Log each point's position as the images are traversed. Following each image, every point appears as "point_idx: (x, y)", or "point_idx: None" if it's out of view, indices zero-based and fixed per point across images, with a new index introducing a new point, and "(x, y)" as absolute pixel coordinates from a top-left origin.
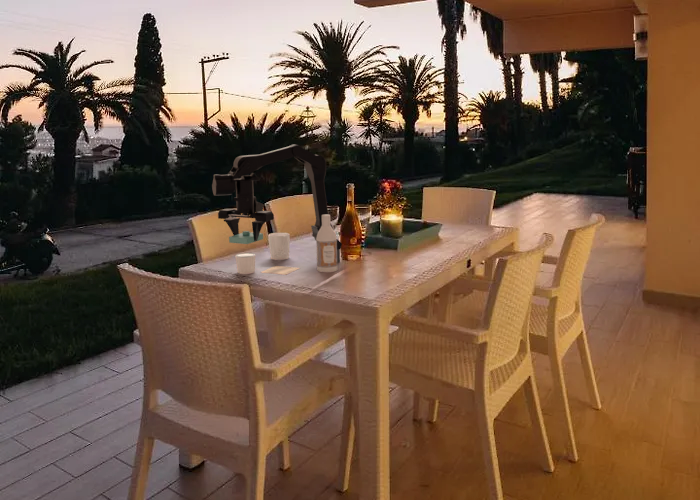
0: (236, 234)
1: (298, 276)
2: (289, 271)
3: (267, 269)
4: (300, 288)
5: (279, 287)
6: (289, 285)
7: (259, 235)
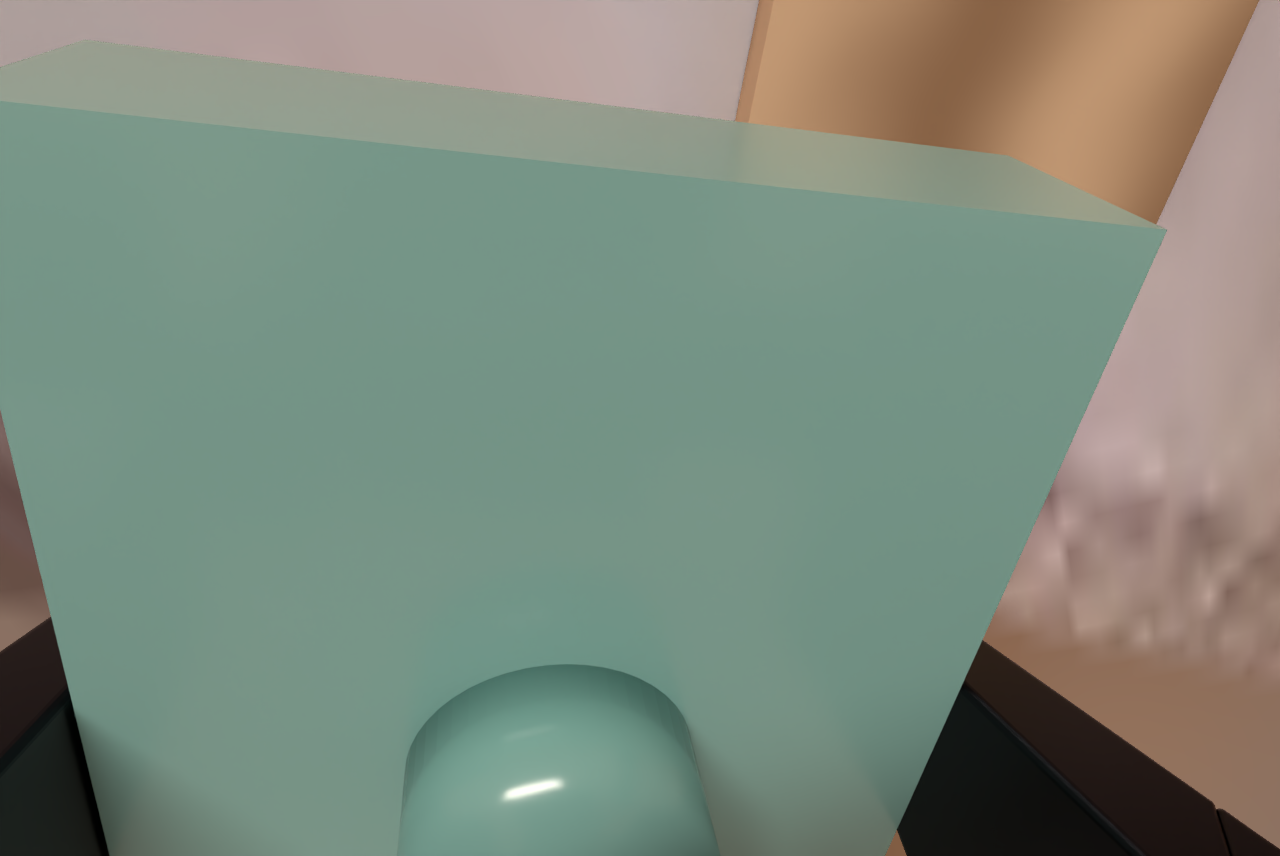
0: (91, 828)
1: (1271, 153)
2: (1175, 70)
3: (782, 10)
4: (1263, 584)
5: (1065, 608)
6: (1159, 531)
7: (1012, 488)
